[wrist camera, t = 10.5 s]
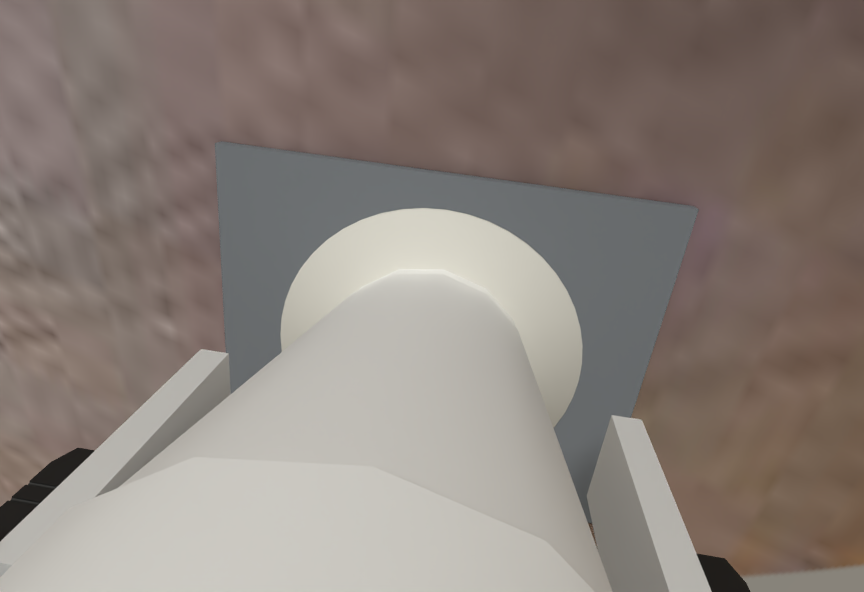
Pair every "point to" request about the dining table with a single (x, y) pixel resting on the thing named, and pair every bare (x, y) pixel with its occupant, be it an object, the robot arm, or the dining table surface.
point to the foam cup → (350, 470)
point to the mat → (454, 268)
